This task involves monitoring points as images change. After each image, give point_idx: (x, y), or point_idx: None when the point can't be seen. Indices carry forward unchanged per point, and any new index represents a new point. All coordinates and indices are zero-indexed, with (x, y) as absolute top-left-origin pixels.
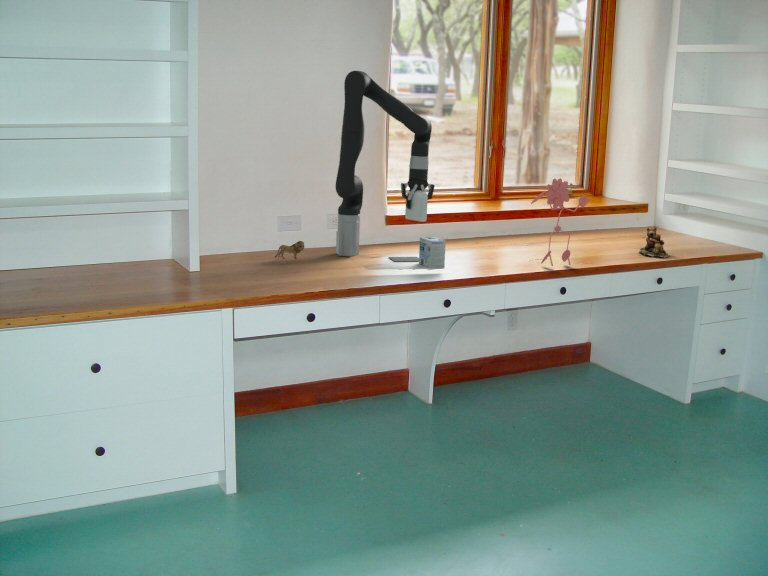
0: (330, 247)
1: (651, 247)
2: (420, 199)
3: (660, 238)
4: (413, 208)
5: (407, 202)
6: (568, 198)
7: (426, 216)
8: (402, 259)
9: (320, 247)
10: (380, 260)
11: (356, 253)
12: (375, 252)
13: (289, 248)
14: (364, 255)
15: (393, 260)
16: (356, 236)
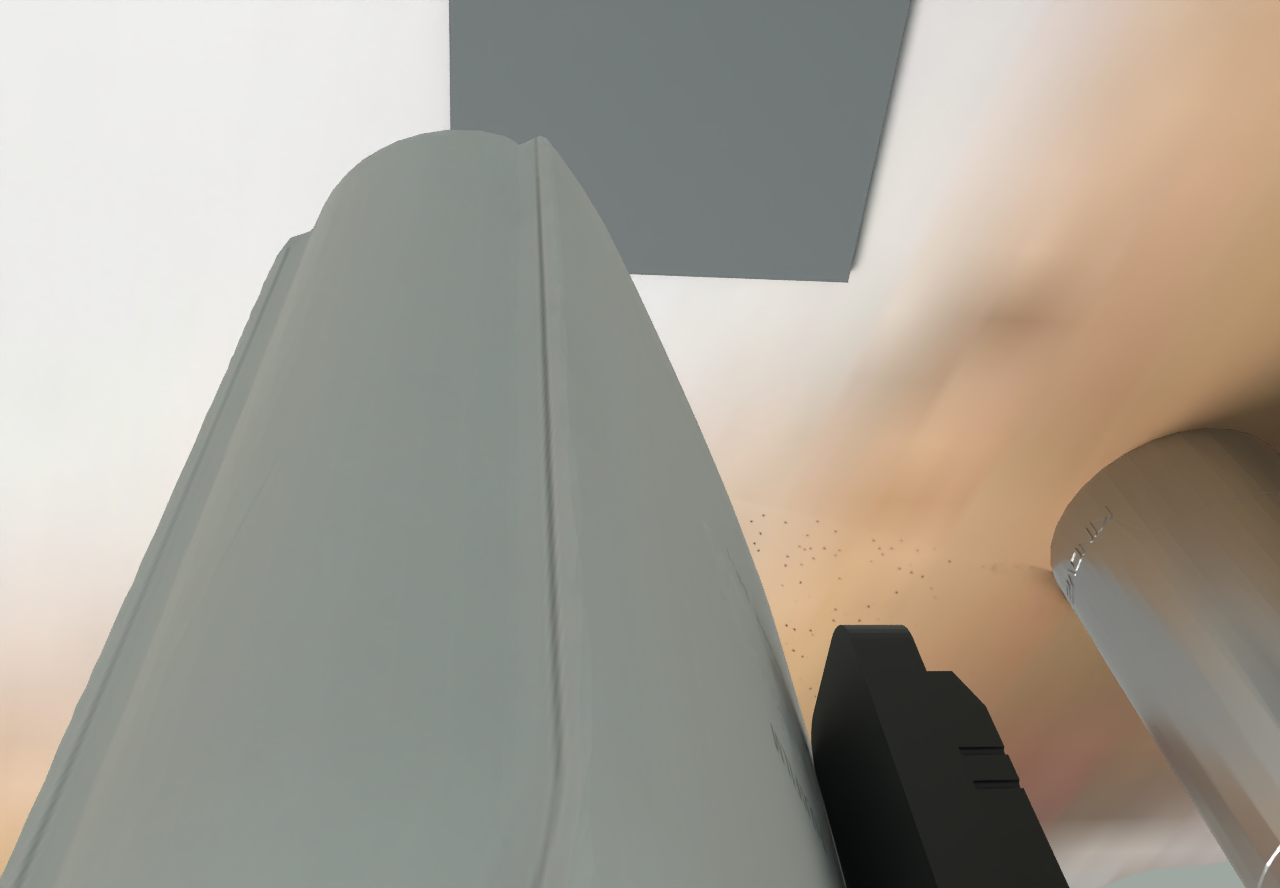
0: (1102, 820)
1: None
2: (624, 700)
3: None
4: (744, 606)
5: (1030, 842)
6: None
7: (269, 289)
8: (745, 53)
9: (1184, 819)
10: (1049, 94)
11: (1144, 465)
12: (824, 607)
13: None
14: (1040, 453)
15: (908, 1)
16: (1273, 601)
